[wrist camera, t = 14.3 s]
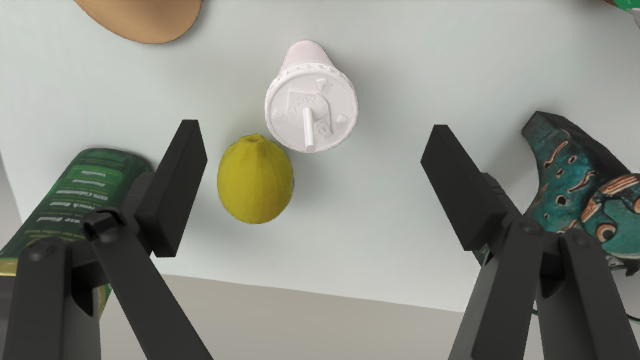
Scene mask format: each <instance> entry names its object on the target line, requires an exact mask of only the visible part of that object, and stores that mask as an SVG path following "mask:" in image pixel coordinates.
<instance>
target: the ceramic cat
mask: <svg viewBox="0 0 640 360" xmlns="http://www.w3.org/2000/svg"><path fill="white" fill-rule="evenodd" d="M522 134H523V136H524V137H525V138H526V140H527V141H528V143H529V145H530V147H531V149H532V151H533V153H534V155H535V158H536V162H537V169H538V174H539V189H538V192H537V195H536V196H535V198H534V200H533V201H532V203H531V205H530V206H529V208H528V209H527V211H526V212H525V213H524V214H523V215H522V216H526V217H529V218H532V219H534V220H535V221H537V222H538V223H540V224H541V225H542V226H543V228H544V229H545V230H547V231H551V232H555V233H559V234H563V233H564V232H565V231H566V230H567V229H568V228H578V229H581V230H584V231H586V232H588V233H589V234H591V235H592V236H594V237H595V238H596V239H597V240H598V241H599V243H600V244H601V246H602V249H603V252H604V254H605V257H606V260H607V263H608V265H609V268H610V271H611V273H612V275H613V274H614V273H615V272H616V271H617V270H620V269H627V271H626V277H630V276H633V275H635V274H637V273H638V272H639V271H640V174H638V173H633V174H631V172H630V171H629V170H628V169H627V168H626V167H625V166H624V165H623V164H622V163H621V162H620V161H619V160H618V159H617V158H616V157H615V156H614V155H613V154H612V153H611V152H610V151H609V150H608V149H607V148H606V147H605V146H603V145H602V144H600V143H599V142H598V141H596V140H594V139H593V138H592V137H590V136H589V135H588V134H587V133H585V132H584V131H583V130H582V129H581V128H579V127H578V126H577V125H575V124H573V123H572V122H570V121H569V120H567V119H566V118H565V117H563V116H559V115H556V114H550V113H544V112H539V111H536V113H535V114H534V115H533V116H532V118H531V119H530V120H529V121H528V123H527V124H526V125H525V127H524V128H523V130H522ZM489 250H490V249H489V247H488V246H487V244H486V243H485V244H484V246H483V247H482V248H481V250H480V251H472V252H473V254H474V255H475V257H476V259H477V260H478V262H479V264H480V261H481V260H482V259H483V258H484V256H485V255H486V254H487V252H488V251H489ZM482 264H483V263H482ZM482 264H480V266H481V267H482ZM534 300H536V297H535V298H534ZM532 314H534V315H537V316H538V311H537V310H535V309H532ZM627 317H628V320H629V321H631V322H634V323H637V324H640V319H638V318H635V317H632V316H629V315H628V314H627Z"/></svg>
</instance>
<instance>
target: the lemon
mask: <svg viewBox="0 0 640 360" xmlns="http://www.w3.org/2000/svg"><path fill="white" fill-rule="evenodd" d="M217 187H218V193H219V197H220V200H221V202H222V204H223V206H224V207H225V209H226V210H227V211H228V212H229V213H230V214H231V215H232V216H233V217H235V218H236V219H237V220H240V221H242V222H245V223H249V224H261V223H265V222H269V221H271V220H272V219H274V218H276V217H277V216H278V215H279V214H280V213H281V212H282V211H283V210H284V208H285V207H286V206H287V204H288V203H289V201H290V199H291V196H292V192H293V189H294V175H293V169H292V166H291V163H290V160H289V158H288V156H287V155H286V154H285V152H284V151H283V150H282V149H281V148H280V147H279V146H278V145H276V144H275V143H274V142H272V141H269V140H267V139H266V138H264V137H263V136H262V135H260V134H254V135H248V136H244V137H241V138H240V139H239V140H238V142H236V143H234V144H232V145H231V146H230V147H229V148H228V149H227V150H226V152H225V153H224V155H223V157H222V159H221V162H220V165H219V169H218V176H217Z"/></svg>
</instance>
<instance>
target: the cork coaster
mask: <svg viewBox="0 0 640 360" xmlns="http://www.w3.org/2000/svg"><path fill="white" fill-rule="evenodd" d="M74 1H75V2H76V3H77V4H78V5H79V6H80V7H81V8H82V9H83V10H84V11H85V12H86V13H87V14H88V15H89V16H90V17H91V18H92V19H94V20H95V21H96V22H97V23H99V24H100V25H102V26H103V27H105V28H106V29H108V30H110V31H111V32H113V33H115V34H117V35H119V36H121V37H123V38H126V39H129V40H132V41H136V42H140V43H147V44H160V43H166V42H169V41H172V40H175V39H177V38H179V37H180V36H182V35H183V34H184V33H186V32H187V31H188V30H189V28H190V27H191V26H192V25H193V24H194V22H195V21H196V19H197V17H198V15H199V13H200V10H201V6H202V2H203V0H74Z"/></svg>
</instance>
